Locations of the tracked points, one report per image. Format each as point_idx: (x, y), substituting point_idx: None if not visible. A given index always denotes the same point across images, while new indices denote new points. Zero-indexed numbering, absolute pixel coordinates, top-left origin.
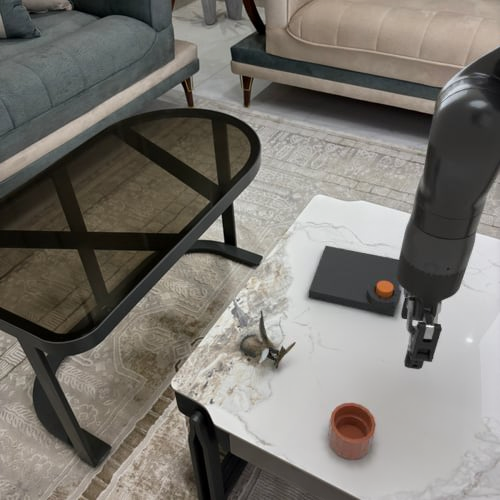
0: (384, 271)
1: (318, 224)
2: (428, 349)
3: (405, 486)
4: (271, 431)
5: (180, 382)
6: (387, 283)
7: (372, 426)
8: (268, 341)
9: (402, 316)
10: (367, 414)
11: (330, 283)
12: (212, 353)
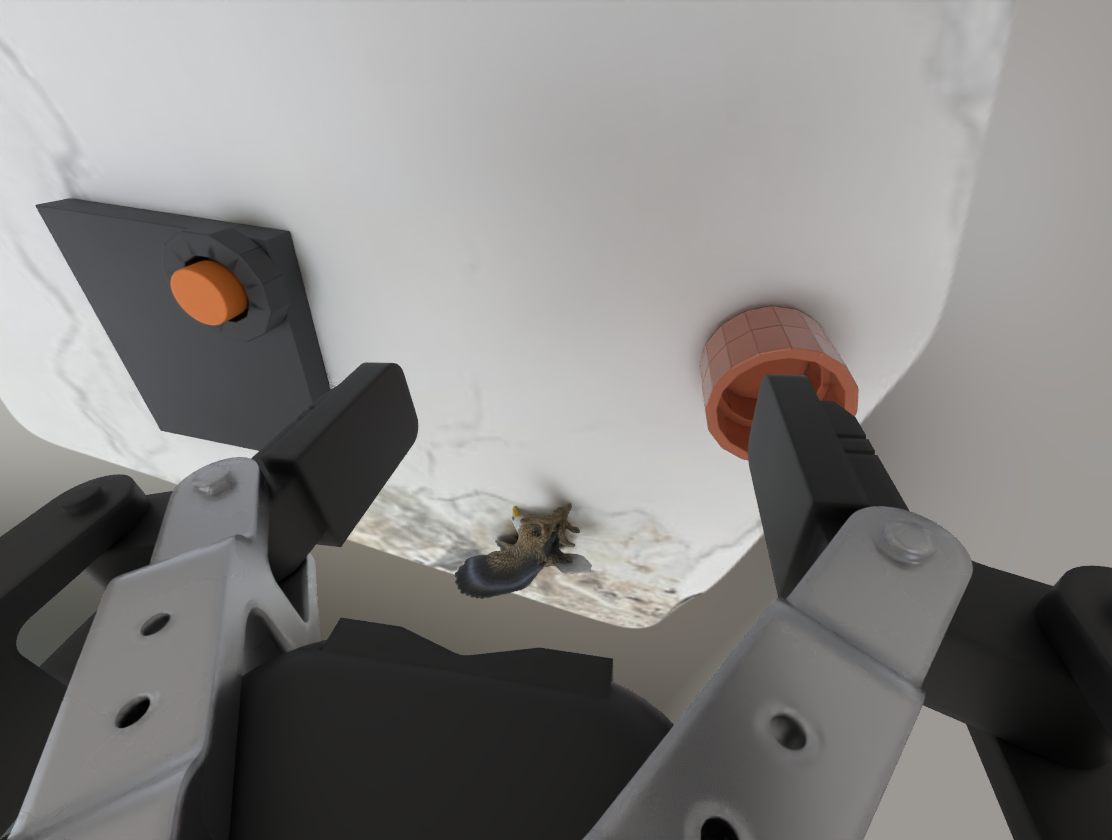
0: (132, 274)
1: (104, 430)
2: (1102, 704)
3: (937, 195)
4: (735, 509)
5: (636, 626)
6: (181, 290)
7: (799, 357)
8: (539, 571)
9: (411, 439)
10: (746, 367)
11: (279, 420)
12: (562, 592)
